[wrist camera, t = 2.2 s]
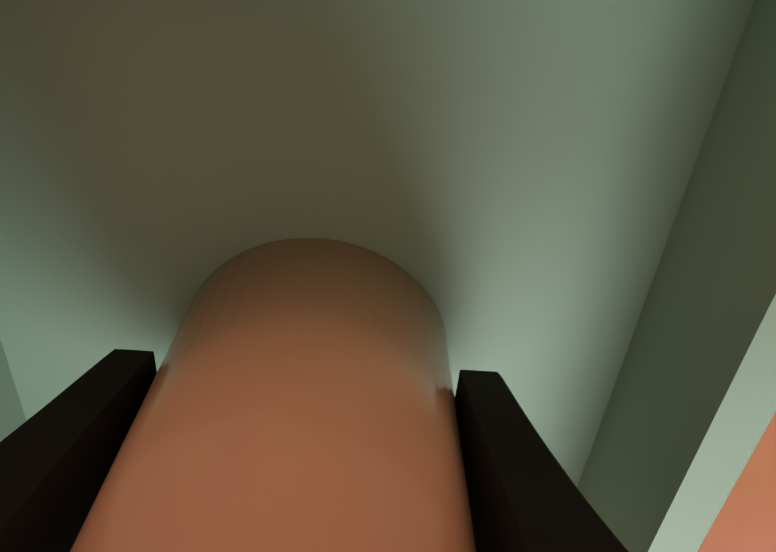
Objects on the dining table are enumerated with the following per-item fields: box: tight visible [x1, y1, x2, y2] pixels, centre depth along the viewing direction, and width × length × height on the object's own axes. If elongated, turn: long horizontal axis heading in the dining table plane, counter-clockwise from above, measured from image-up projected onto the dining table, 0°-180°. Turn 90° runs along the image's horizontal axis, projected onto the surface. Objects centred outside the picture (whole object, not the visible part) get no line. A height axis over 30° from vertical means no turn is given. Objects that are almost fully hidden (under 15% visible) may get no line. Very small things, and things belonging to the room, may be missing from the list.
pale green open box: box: [0, 0, 776, 552], centre depth 10 cm, size 16×13×3 cm
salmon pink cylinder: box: [70, 238, 476, 552], centre depth 9 cm, size 5×5×6 cm
